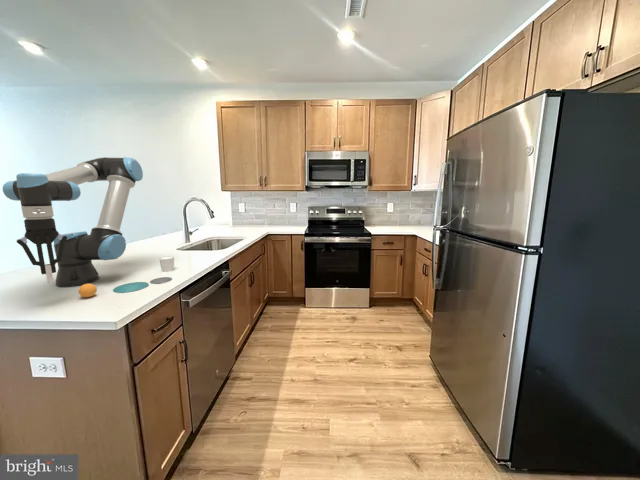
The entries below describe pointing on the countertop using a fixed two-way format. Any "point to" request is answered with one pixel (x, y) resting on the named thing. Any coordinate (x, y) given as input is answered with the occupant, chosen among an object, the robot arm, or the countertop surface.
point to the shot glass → (167, 264)
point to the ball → (87, 290)
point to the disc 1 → (130, 287)
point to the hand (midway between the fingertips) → (50, 281)
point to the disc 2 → (160, 280)
